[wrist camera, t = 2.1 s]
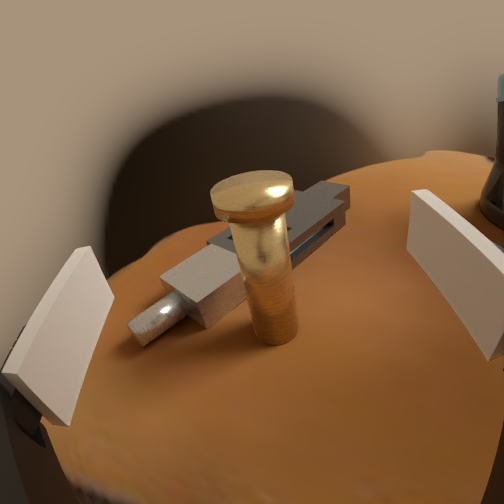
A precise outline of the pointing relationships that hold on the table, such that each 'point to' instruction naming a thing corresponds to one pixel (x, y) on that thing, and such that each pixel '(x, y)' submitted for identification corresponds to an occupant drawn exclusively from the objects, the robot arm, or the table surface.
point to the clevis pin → (262, 248)
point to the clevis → (227, 267)
